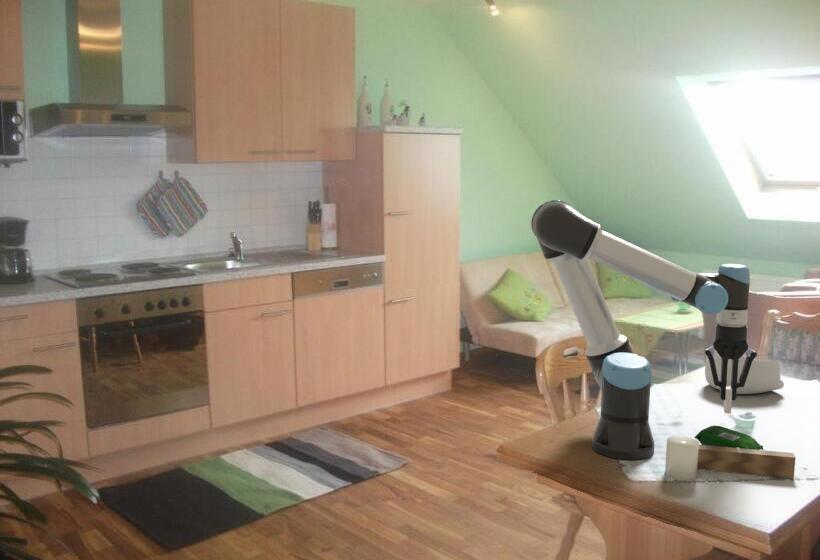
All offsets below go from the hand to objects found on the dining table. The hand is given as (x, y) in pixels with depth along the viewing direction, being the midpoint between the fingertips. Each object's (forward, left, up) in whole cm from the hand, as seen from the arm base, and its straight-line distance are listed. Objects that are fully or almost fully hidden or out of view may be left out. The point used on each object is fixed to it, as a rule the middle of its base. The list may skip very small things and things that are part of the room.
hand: (727, 411), depth 216 cm
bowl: (+8, +45, -7) cm, 46 cm away
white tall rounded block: (-14, -31, -6) cm, 34 cm away
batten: (0, -26, -6) cm, 26 cm away
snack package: (-1, -13, -7) cm, 14 cm away
